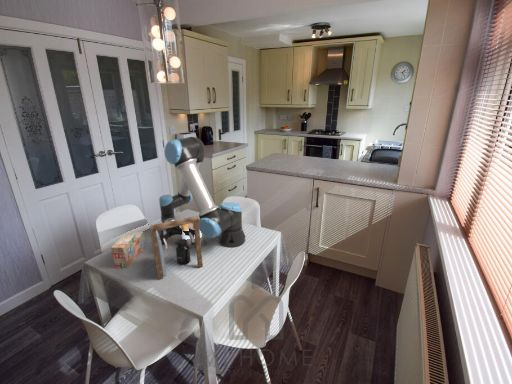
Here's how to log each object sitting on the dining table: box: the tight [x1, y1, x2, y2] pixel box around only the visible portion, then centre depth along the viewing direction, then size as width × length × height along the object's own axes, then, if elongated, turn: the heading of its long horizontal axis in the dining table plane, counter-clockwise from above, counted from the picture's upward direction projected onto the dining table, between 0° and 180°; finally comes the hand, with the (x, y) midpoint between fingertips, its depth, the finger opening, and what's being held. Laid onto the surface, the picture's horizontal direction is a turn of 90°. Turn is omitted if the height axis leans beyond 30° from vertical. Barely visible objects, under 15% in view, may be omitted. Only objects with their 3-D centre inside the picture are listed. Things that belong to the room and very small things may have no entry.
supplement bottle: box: [175, 238, 192, 266], centre depth 136 cm, size 7×7×12 cm
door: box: [156, 230, 167, 277], centre depth 130 cm, size 14×2×18 cm, turn 27°
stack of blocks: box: [110, 231, 146, 269], centre depth 141 cm, size 21×6×12 cm, turn 177°
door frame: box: [149, 215, 204, 280], centre depth 126 cm, size 21×2×27 cm, turn 117°
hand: (180, 243), depth 139 cm, fingers open, 13 cm apart
